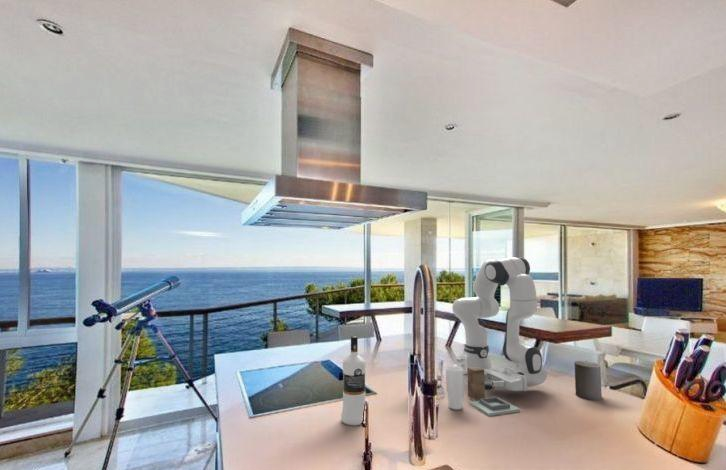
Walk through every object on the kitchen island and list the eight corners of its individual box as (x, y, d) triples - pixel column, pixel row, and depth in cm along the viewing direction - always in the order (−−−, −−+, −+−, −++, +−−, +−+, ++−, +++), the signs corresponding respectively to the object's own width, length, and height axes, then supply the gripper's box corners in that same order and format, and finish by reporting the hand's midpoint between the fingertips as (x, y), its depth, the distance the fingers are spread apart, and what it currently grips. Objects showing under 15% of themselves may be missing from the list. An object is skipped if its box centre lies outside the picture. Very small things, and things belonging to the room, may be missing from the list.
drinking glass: (444, 409, 142) (443, 369, 143) (449, 403, 148) (448, 365, 149) (462, 412, 139) (461, 372, 140) (466, 406, 145) (465, 367, 146)
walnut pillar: (467, 396, 156) (467, 367, 157) (477, 394, 157) (477, 366, 158) (474, 400, 151) (474, 370, 152) (485, 398, 153) (484, 369, 154)
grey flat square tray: (470, 404, 147) (470, 398, 147) (499, 400, 151) (499, 394, 151) (488, 416, 135) (488, 409, 135) (519, 411, 139) (519, 404, 139)
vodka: (363, 414, 137) (363, 333, 139) (369, 425, 128) (369, 338, 130) (339, 417, 135) (339, 334, 137) (343, 427, 126) (344, 339, 128)
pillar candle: (571, 395, 157) (570, 359, 158) (581, 390, 163) (580, 356, 164) (596, 402, 149) (594, 365, 150) (605, 397, 155) (604, 361, 156)
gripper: (497, 364, 171) (471, 366, 166) (529, 376, 151) (501, 379, 147) (497, 377, 170) (472, 380, 166) (529, 392, 151) (501, 396, 147)
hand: (486, 380), depth 156 cm, fingers open, 8 cm apart
